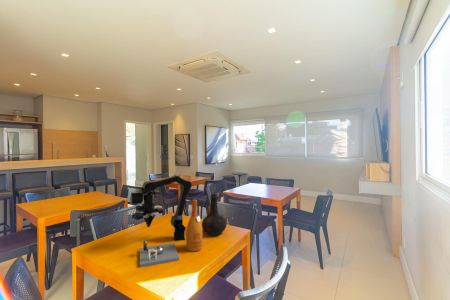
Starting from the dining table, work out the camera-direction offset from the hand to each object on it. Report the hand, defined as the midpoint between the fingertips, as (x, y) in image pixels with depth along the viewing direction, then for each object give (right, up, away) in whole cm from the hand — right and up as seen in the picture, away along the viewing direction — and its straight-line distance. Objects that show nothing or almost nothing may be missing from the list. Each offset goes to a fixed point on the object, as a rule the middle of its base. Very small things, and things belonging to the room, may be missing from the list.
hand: (148, 226), depth 139 cm
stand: (+10, -12, -12) cm, 20 cm away
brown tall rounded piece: (+29, -12, -3) cm, 32 cm away
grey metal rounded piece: (+7, -11, -13) cm, 18 cm away
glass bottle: (+40, -12, +21) cm, 47 cm away
